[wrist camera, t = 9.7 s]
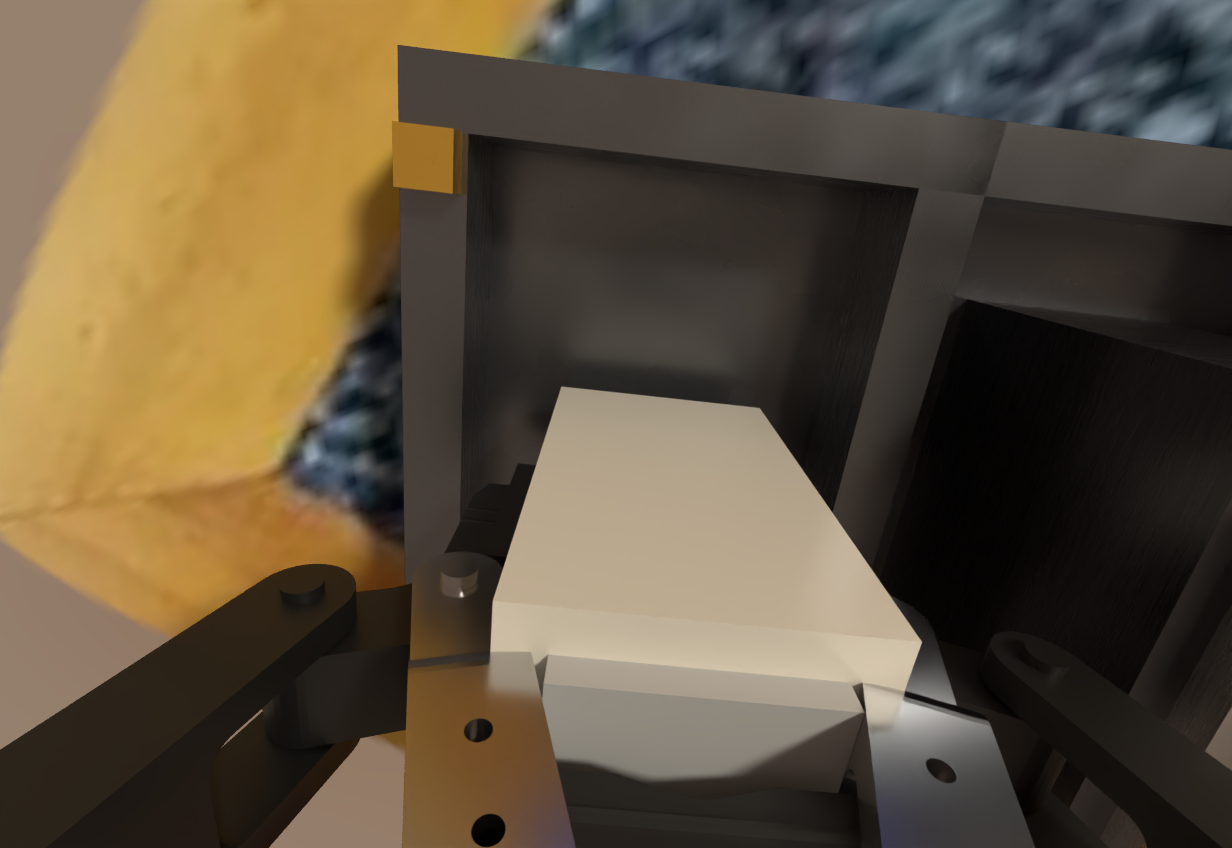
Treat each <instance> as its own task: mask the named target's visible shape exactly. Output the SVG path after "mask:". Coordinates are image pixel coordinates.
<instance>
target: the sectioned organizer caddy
mask: <svg viewBox="0 0 1232 848" xmlns="http://www.w3.org/2000/svg"><path fill="white" fill-rule="evenodd" d="M398 111H399V122H396V121H392V145H393V187H400V254H401V325H402V397H403V468H404V540H405V585H407V584H410V583H412V579H413V575H414V573H415V571H416V569H417V568H418V567H419V566H420V565H421V564H422V563H424V562H425V561H427V560H429V559H431V558H433V557H435V556H438V555H441V554H444V553H445V551H446V549H447V547H448V545H449V543H450V541H451V539H452V537H453V535H454V533H455V531H456V529H457V527H458V525H459V523H460V521H462V517H463V515H464V513H465V511H466V510H467V507H468V505H469V503H470V501H471V499H472V497H473V495H474V493H476V492H477V491H479V490H480V489H482V488H484V487H485V486H487V485H488V484H490V483H493V484H503V485H510V482H511V480H512V477H513V475H514V472H515V470H516V467H517V465H518V463H521V464H531V465H536V464H537V461H538V458H539V455H540V452H541V449H542V446H543V443H544V439H545V436H546V433H547V430H548V427H549V424H550V421H551V418H552V415H553V411H554V408H555V405H556V402H557V399H558V396H559V393H560V390H561V387H570V388H580V389H589V390H598V391H607V392H617V393H626V394H635V395H644V396H654V397H663V398H672V399H681V400H690V401H700V402H709V403H718V404H727V405H737V406H746V407H755V408H760V409H761V411H762V412H763V414H764V415H765V416H766V418H767V419H768V421H769V422H770V424H771V425H772V427H773V428H774V429H775V431H776V432H777V434H778V435H779V437H780V438H781V440H782V441H783V442H784V444H785V445H786V447H787V448H788V450H789V451H790V453H791V454H792V455H793V457H794V458H795V460H796V461H797V463H798V464H799V465H800V467H801V468H802V470H803V471H804V473H805V474H806V476H807V477H808V478H809V480H810V481H811V483H812V484H813V486H814V487H815V489H816V490H817V491H818V493H819V494H820V496H821V497H822V499H823V500H824V502H825V503H826V504H827V506H828V507H829V509H830V510H831V512H832V513H833V514H834V516H835V517H836V519H837V520H838V522H839V523H840V525H841V526H842V527H843V529H844V530H845V532H846V533H847V535H848V536H849V538H850V539H851V540H852V542H853V543H854V545H855V546H856V548H857V549H858V551H859V552H860V553H861V555H862V556H863V558H864V559H865V561H866V562H867V564H868V565H869V566H870V568H871V569H872V571H873V572H874V574H875V575H876V576H877V578H878V579H879V581H880V582H881V584H882V585H883V587H884V588H885V589H886V591H887V592H888V594H889V595H890V596H892V597H895V598H897V599H899V600H901V601H904V602H905V603H907V604H909V605H911V606H912V607H914V608H915V609H916V610H918V611H919V612H920V613H921V614H923V615H924V616H925V618H926V619H927V620H928V621H929V622H930V624H931V626H932V628H933V630H934V634H935V637H936V639H937V640H940V641H943V642H946V643H950V644H953V645H956V646H960V647H963V648H967V649H970V650H973V651H977V652H980V653H983V654H985V653H986V651H987V648H988V646H989V643H990V641H991V638H992V637H993V636H994V635H995V634H997V633H1000V632H1009V631H1010V632H1019V633H1025V634H1029V635H1032V636H1035V637H1038V638H1041V639H1044V640H1046V641H1048V642H1051V643H1053V644H1055V645H1057V646H1059V647H1061V648H1062V649H1064V650H1066V651H1068V652H1069V653H1071V654H1072V655H1074V656H1075V657H1077V658H1078V659H1079V660H1081V661H1082V662H1084V663H1085V664H1086V665H1088V666H1089V667H1090V668H1092V669H1093V670H1094V671H1096V672H1097V673H1099V674H1100V675H1101V676H1103V677H1104V678H1105V679H1107V680H1108V681H1110V682H1111V683H1112V684H1114V685H1115V686H1116V687H1118V688H1119V689H1121V690H1122V691H1123V692H1125V693H1126V694H1127V695H1129V696H1130V697H1131V698H1133V699H1134V700H1136V701H1137V702H1138V703H1140V704H1141V705H1142V706H1144V707H1145V708H1147V709H1148V710H1149V711H1151V712H1152V713H1153V714H1155V715H1156V716H1157V717H1159V718H1160V719H1162V720H1163V721H1164V722H1166V723H1167V724H1168V725H1170V726H1171V727H1173V728H1174V729H1175V730H1177V731H1178V732H1179V733H1181V734H1182V735H1184V736H1185V737H1186V738H1188V739H1189V740H1190V741H1192V742H1193V743H1194V744H1196V745H1197V746H1199V747H1200V748H1201V749H1203V750H1204V751H1205V752H1207V753H1208V754H1210V755H1211V756H1212V757H1214V758H1215V759H1216V760H1218V761H1219V762H1221V763H1222V764H1223V765H1225V766H1226V767H1227V768H1229V769H1230V770H1231V771H1232V150H1228V149H1220V148H1212V147H1204V146H1196V145H1188V144H1180V143H1172V142H1164V141H1156V140H1149V139H1141V138H1133V137H1125V136H1117V135H1109V134H1101V133H1093V132H1085V131H1077V130H1069V129H1061V128H1053V127H1045V126H1037V125H1029V124H1021V123H1014V122H1006V121H998V120H990V119H982V118H974V117H966V116H958V115H950V114H942V113H934V112H926V111H918V110H910V109H902V108H894V107H886V106H879V105H871V104H863V103H855V102H847V101H839V100H831V99H823V98H815V97H807V96H799V95H791V94H783V93H775V92H767V91H759V90H751V89H744V88H736V87H728V86H720V85H712V84H704V83H696V82H688V81H680V80H672V79H664V78H656V77H648V76H640V75H632V74H624V73H616V72H609V71H601V70H593V69H585V68H577V67H569V66H561V65H553V64H545V63H537V62H529V61H521V60H513V59H505V58H497V57H489V56H482V55H474V54H466V53H458V52H450V51H442V50H434V49H426V48H418V47H410V46H402V45H398ZM1051 791H1052V792H1053V793H1054V794H1055V795H1056V796H1057V797H1058V798H1059V799H1060V800H1061V801H1062V802H1063V803H1064V804H1065V805H1066V806H1067V807H1068V808H1069V809H1070V810H1071V811H1072V812H1073V813H1074V814H1075V815H1076V816H1077V817H1078V818H1079V819H1080V820H1081V821H1082V822H1083V823H1085V824H1086V825H1087V826H1088V827H1089V828H1090V829H1091V830H1092V831H1093V832H1094V833H1095V834H1096V835H1097V836H1098V837H1099V838H1100V839H1101V840H1102V841H1103V842H1104V843H1105V844H1106V845H1107V846H1108V847H1109V848H1147V846H1146V842H1145V840H1144V837H1143V835H1142V833H1141V831H1140V830H1139V828H1138V827H1137V825H1136V824H1135V822H1134V821H1133V820H1132V819H1131V818H1130V817H1129V816H1128V815H1127V814H1126V813H1125V812H1124V811H1123V810H1122V809H1121V808H1120V807H1119V806H1118V805H1116V804H1115V803H1114V802H1113V801H1112V800H1111V799H1110V798H1109V797H1108V796H1106V795H1105V794H1104V793H1103V792H1102V791H1101V790H1100V789H1099V788H1098V787H1096V786H1095V785H1094V784H1093V783H1092V782H1091V781H1090V780H1089V779H1088V778H1086V777H1085V776H1084V775H1083V774H1082V773H1081V772H1080V771H1079V770H1078V769H1077V768H1075V767H1074V766H1073V765H1072V764H1071V763H1070V762H1069V761H1068V760H1066V762H1065V764H1064V766H1063V767H1062V769H1061V771H1060V773H1059V775H1058V777H1057V779H1056V781H1055V783H1054V785H1053V787H1052V789H1051Z"/></svg>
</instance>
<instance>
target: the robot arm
mask: <svg viewBox="0 0 1232 848" xmlns="http://www.w3.org/2000/svg"><path fill="white" fill-rule="evenodd" d="M535 468H536V465H531V464H521V463H518V465H517V467H516V470H515V472H514V475H513V477H512V480H511V482H510V485H503V484H493V483H490V484H488V485H487V486H485V487H484V488H482V489H480V490H479V491H477V492H476V493H474V495H473V497H472V499H471V501H470V503H469V505H468V507H467V510H466V511H465V513H464V515H463V517H462V521H460V523H459V525H458V527H457V529H456V531H455V533H454V535H453V537H452V539H451V541H450V543H449V545H448V547H447V549H446V551H445V553H444V554H441V555H438V556H435V557H433V558H431V559H429V560H427V561H425V562H424V563H422V564H421V565H420V566H419V567H418V568H417V569H416V571H415V573H414V575H413V579H412V583H410V584H407V585H404V586H400V587H395V588H389V589H380V590H371V591H362V592H356V582H355V579H354V577H353V576H352V575H351V574H350V573H349V572H348V571H346V570H345V569H343V568H340V567H337V566H333V565H327V564H308V565H301V566H295V567H291V568H288V569H285V570H282V571H279V572H277V573H274V574H272V575H270V576H268V577H267V578H265V579H263V580H262V581H260V582H259V583H257V584H256V585H254V586H253V587H251V588H249V589H248V590H246V591H245V592H243V593H242V594H240V595H239V596H237V597H236V598H234V599H232V600H231V601H229V602H228V603H226V604H225V605H223V606H222V607H220V608H219V609H217V610H215V611H214V612H212V613H211V614H209V615H208V616H206V617H205V618H203V619H202V620H200V621H198V622H197V623H195V624H194V625H192V626H191V627H189V628H188V629H186V630H185V631H183V632H181V633H180V634H178V635H177V636H175V637H174V638H172V639H171V640H169V641H168V642H166V643H164V644H163V645H161V646H160V647H159V648H157V649H155V650H154V651H152V652H151V653H149V654H147V655H146V656H145V657H143V658H141V659H140V660H138V661H137V662H135V663H134V664H132V665H131V666H129V667H128V668H126V669H124V670H123V671H121V672H120V673H118V674H117V675H115V676H113V677H112V678H110V679H109V680H107V681H106V682H104V683H103V684H101V685H100V686H98V687H97V688H95V689H93V690H92V691H90V692H89V693H87V694H86V695H84V696H83V697H81V698H80V699H78V700H76V701H75V702H73V703H72V704H70V705H69V706H67V707H66V708H64V709H62V710H61V711H59V712H58V713H56V714H55V715H53V716H52V717H50V718H49V719H47V720H45V721H44V722H42V723H41V724H39V725H38V726H36V727H35V728H33V729H32V730H30V731H28V732H27V733H25V734H24V735H22V736H21V737H19V738H18V739H16V740H15V741H13V742H12V743H10V744H8V745H7V746H5V747H4V748H2V749H1V750H0V848H269V847H270V845H271V844H272V843H273V842H274V841H275V840H276V839H277V838H278V836H279V835H280V834H281V833H282V832H283V830H284V829H285V828H286V827H287V826H288V825H289V824H290V822H291V821H292V820H293V819H294V818H295V817H296V816H297V814H298V813H299V812H300V811H301V810H302V809H303V807H304V806H305V805H306V804H307V803H308V802H309V801H310V799H311V798H312V797H313V796H314V795H315V794H316V792H317V791H318V790H319V789H320V788H321V787H322V786H323V784H324V783H325V782H326V781H327V780H328V779H329V778H330V776H331V775H332V774H333V773H334V772H335V771H336V769H337V768H338V767H339V766H340V765H341V764H342V763H343V761H344V760H345V759H346V758H347V757H348V756H349V754H350V753H351V752H352V751H353V750H354V748H355V747H356V746H357V744H358V742H359V740H360V738H364V737H369V736H374V735H380V734H385V733H390V732H395V731H401V730H406V744H405V773H404V805H403V833H402V848H1109V847H1108V846H1107V845H1106V844H1105V843H1104V842H1103V841H1102V840H1101V839H1100V838H1099V837H1098V836H1097V835H1096V834H1095V833H1094V832H1093V831H1092V830H1091V829H1090V828H1089V827H1088V826H1087V825H1086V824H1085V823H1083V822H1082V821H1081V820H1080V819H1079V818H1078V817H1077V816H1076V815H1075V814H1074V813H1073V812H1072V811H1071V810H1070V809H1069V808H1068V807H1067V806H1066V805H1065V804H1064V803H1063V802H1062V801H1061V800H1060V799H1059V798H1058V797H1057V796H1056V795H1055V794H1054V793H1053V792H1052V791H1051V789H1052V787H1053V785H1054V783H1055V781H1056V779H1057V777H1058V775H1059V773H1060V771H1061V769H1062V767H1063V766H1064V764H1065V762H1066V760H1068V761H1069V762H1070V763H1071V764H1072V765H1073V766H1074V767H1075V768H1077V769H1078V770H1079V771H1080V772H1081V773H1082V774H1083V775H1084V776H1085V777H1086V778H1088V779H1089V780H1090V781H1091V782H1092V783H1093V784H1094V785H1095V786H1096V787H1098V788H1099V789H1100V790H1101V791H1102V792H1103V793H1104V794H1105V795H1106V796H1108V797H1109V798H1110V799H1111V800H1112V801H1113V802H1114V803H1115V804H1116V805H1118V806H1119V807H1120V808H1121V809H1122V810H1123V811H1124V812H1125V813H1126V814H1127V815H1128V816H1129V817H1130V818H1131V819H1132V820H1133V821H1134V822H1135V824H1136V825H1137V827H1138V828H1139V830H1140V831H1141V833H1142V835H1143V837H1144V840H1145V842H1146V846H1147V848H1232V771H1231V770H1230V769H1229V768H1227V767H1226V766H1225V765H1223V764H1222V763H1221V762H1219V761H1218V760H1216V759H1215V758H1214V757H1212V756H1211V755H1210V754H1208V753H1207V752H1205V751H1204V750H1203V749H1201V748H1200V747H1199V746H1197V745H1196V744H1194V743H1193V742H1192V741H1190V740H1189V739H1188V738H1186V737H1185V736H1184V735H1182V734H1181V733H1179V732H1178V731H1177V730H1175V729H1174V728H1173V727H1171V726H1170V725H1168V724H1167V723H1166V722H1164V721H1163V720H1162V719H1160V718H1159V717H1157V716H1156V715H1155V714H1153V713H1152V712H1151V711H1149V710H1148V709H1147V708H1145V707H1144V706H1142V705H1141V704H1140V703H1138V702H1137V701H1136V700H1134V699H1133V698H1131V697H1130V696H1129V695H1127V694H1126V693H1125V692H1123V691H1122V690H1121V689H1119V688H1118V687H1116V686H1115V685H1114V684H1112V683H1111V682H1110V681H1108V680H1107V679H1105V678H1104V677H1103V676H1101V675H1100V674H1099V673H1097V672H1096V671H1094V670H1093V669H1092V668H1090V667H1089V666H1088V665H1086V664H1085V663H1084V662H1082V661H1081V660H1079V659H1078V658H1077V657H1075V656H1074V655H1072V654H1071V653H1069V652H1068V651H1066V650H1064V649H1062V648H1061V647H1059V646H1057V645H1055V644H1053V643H1051V642H1048V641H1046V640H1044V639H1041V638H1038V637H1035V636H1032V635H1029V634H1025V633H1019V632H1010V631H1009V632H1000V633H997V634H995V635H994V636H993V637H992V638H991V641H990V643H989V646H988V648H987V651H986V653H985V654H983V653H980V652H977V651H973V650H970V649H967V648H963V647H960V646H956V645H953V644H950V643H946V642H943V641H940V640H937V639H936V637H935V634H934V630H933V628H932V626H931V624H930V622H929V621H928V620H927V619H926V618H925V616H924V615H923V614H921V613H920V612H919V611H918V610H916V609H915V608H914V607H912V606H911V605H909V604H907V603H905V602H904V601H901V600H899V599H897V598H895V597H892V596H890V597H891V598H892V600H893V601H894V602H895V604H896V605H897V607H898V608H899V610H900V611H901V613H902V614H903V615H904V617H905V618H906V620H907V621H908V623H909V624H910V626H911V627H912V628H913V630H914V631H915V633H916V634H917V636H918V637H919V638H920V640H921V641H922V644H921V646H920V649H919V652H918V655H917V658H916V660H915V663H914V666H913V669H912V672H911V674H910V677H909V680H908V683H907V685H906V688H905V691H903V690H899V689H895V688H890V687H885V686H880V685H875V684H869V683H862V684H861V688H860V691H859V694H858V697H857V698H858V700H859V702H860V704H861V706H862V708H863V710H864V712H865V714H864V717H863V720H862V723H861V726H860V729H859V732H858V735H857V738H856V741H855V744H854V747H853V750H852V753H851V756H850V759H849V762H848V765H847V768H846V771H845V774H844V777H843V780H842V783H841V786H840V789H839V792H838V793H830V792H819V791H807V790H795V789H784V788H774V789H768V790H763V791H757V792H752V793H746V794H740V795H735V796H729V797H723V798H718V799H712V800H705V801H700V800H694V799H690V798H687V797H684V796H681V795H678V794H675V793H672V792H668V791H665V790H662V789H659V788H656V787H653V786H650V785H647V784H644V783H641V782H638V781H635V780H632V779H629V778H626V777H623V776H620V775H617V774H608V773H596V772H585V771H573V770H561V769H558V767H557V763H556V759H555V754H554V750H553V746H552V741H551V737H550V732H549V728H548V724H547V719H546V715H545V710H544V706H543V702H542V697H541V693H540V689H539V684H538V680H537V675H536V671H535V667H534V662H533V658H532V654H531V652H519V651H515V652H490V649H491V627H492V606H493V599H494V596H495V592H496V589H497V586H498V583H499V580H500V577H501V574H502V571H503V567H504V564H505V561H506V558H507V555H508V552H509V549H510V546H511V542H512V539H513V536H514V533H515V530H516V527H517V524H518V521H519V518H520V514H521V511H522V508H523V505H524V502H525V499H526V496H527V493H528V489H529V486H530V483H531V480H532V477H533V474H534V471H535ZM261 709H262V710H263V712H261V713H260V714H259V715H258V716H257V717H256V718H255V719H254V720H252V721H251V722H250V723H249V724H248V725H247V726H246V727H245V728H243V729H242V730H241V731H240V732H239V733H238V734H237V735H235V737H233V738H232V739H231V740H230V741H229V742H228V743H227V744H225V745H224V743H225V742H226V741H227V740H228V739H229V738H230V736H232V735H233V734H234V733H235V732H236V731H237V730H238V729H239V728H241V727H242V726H243V725H244V724H245V723H246V722H247V721H248V720H249V719H251V718H252V717H253V716H254V715H255V714H256V713H258V712H259V711H260V710H261ZM223 745H224V746H223ZM222 746H223V747H222Z"/></svg>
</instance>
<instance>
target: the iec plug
mask: <svg viewBox="0 0 1232 848" xmlns="http://www.w3.org/2000/svg"><path fill="white" fill-rule="evenodd" d="M921 644H922V641H921V640H920V638H919V637H918V636H917V634H916V633H915V631H914V630H913V628H912V627H911V626H910V624H909V623H908V621H907V620H906V618H905V617H904V615H903V614H902V613H901V611H900V610H899V608H898V607H897V605H896V604H895V602H894V601H893V600H892V598H891V597H890V595H889V594H888V592H887V591H886V589H885V588H884V587H883V585H882V584H881V582H880V581H879V579H878V578H877V576H876V575H875V574H874V572H873V571H872V569H871V568H870V566H869V565H868V564H867V562H866V561H865V559H864V558H863V556H862V555H861V553H860V552H859V551H858V549H857V548H856V546H855V545H854V543H853V542H852V540H851V539H850V538H849V536H848V535H847V533H846V532H845V530H844V529H843V527H842V526H841V525H840V523H839V522H838V520H837V519H836V517H835V516H834V514H833V513H832V512H831V510H830V509H829V507H828V506H827V504H826V503H825V502H824V500H823V499H822V497H821V496H820V494H819V493H818V491H817V490H816V489H815V487H814V486H813V484H812V483H811V481H810V480H809V478H808V477H807V476H806V474H805V473H804V471H803V470H802V468H801V467H800V465H799V464H798V463H797V461H796V460H795V458H794V457H793V455H792V454H791V453H790V451H789V450H788V448H787V447H786V445H785V444H784V442H783V441H782V440H781V438H780V437H779V435H778V434H777V432H776V431H775V429H774V428H773V427H772V425H771V424H770V422H769V421H768V419H767V418H766V416H765V415H764V414H763V412H762V411H761V409H760V408H755V407H746V406H737V405H727V404H718V403H709V402H700V401H690V400H681V399H672V398H663V397H654V396H644V395H635V394H626V393H617V392H607V391H598V390H589V389H580V388H570V387H561V390H560V393H559V396H558V399H557V402H556V405H555V408H554V411H553V415H552V418H551V421H550V424H549V427H548V430H547V433H546V436H545V439H544V443H543V446H542V449H541V452H540V455H539V458H538V461H537V464H536V468H535V471H534V474H533V477H532V480H531V483H530V486H529V489H528V493H527V496H526V499H525V502H524V505H523V508H522V511H521V514H520V518H519V521H518V524H517V527H516V530H515V533H514V536H513V539H512V542H511V546H510V549H509V552H508V555H507V558H506V561H505V564H504V567H503V571H502V574H501V577H500V580H499V583H498V586H497V589H496V592H495V596H494V599H493V606H492V627H491V649H490V652H515V651H519V652H531V654H532V658H533V662H534V667H535V671H536V675H537V680H538V684H539V689H540V693H541V697H542V702H543V706H544V710H545V715H546V719H547V724H548V728H549V732H550V737H551V741H552V746H553V750H554V754H555V759H556V763H557V767H558V769H561V770H573V771H585V772H596V773H608V774H617V775H620V776H623V777H626V778H629V779H632V780H635V781H638V782H641V783H644V784H647V785H650V786H653V787H656V788H659V789H662V790H665V791H668V792H672V793H675V794H678V795H681V796H684V797H687V798H690V799H694V800H700V801H705V800H712V799H718V798H723V797H729V796H735V795H740V794H746V793H752V792H757V791H763V790H768V789H774V788H784V789H795V790H807V791H819V792H830V793H838V792H839V789H840V786H841V783H842V780H843V777H844V774H845V771H846V768H847V765H848V762H849V759H850V756H851V753H852V750H853V747H854V744H855V741H856V738H857V735H858V732H859V729H860V726H861V723H862V720H863V717H864V714H865V712H864V710H863V708H862V706H861V704H860V702H859V700H858V698H857V697H858V694H859V691H860V688H861V684H862V683H869V684H875V685H880V686H885V687H890V688H895V689H899V690H903V691H905V688H906V685H907V683H908V680H909V677H910V674H911V672H912V669H913V666H914V663H915V660H916V658H917V655H918V652H919V649H920V646H921Z"/></svg>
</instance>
